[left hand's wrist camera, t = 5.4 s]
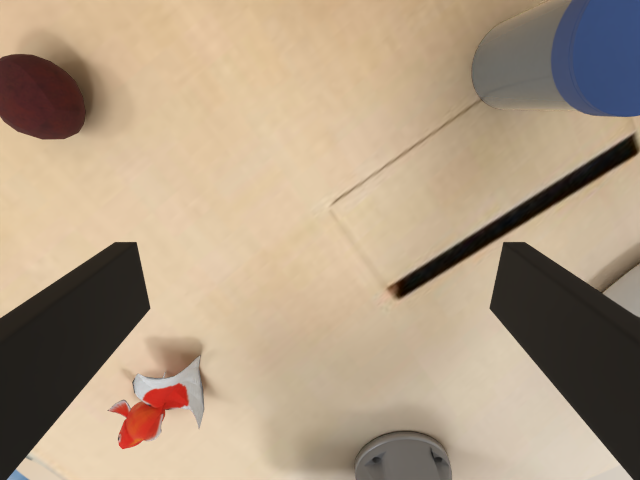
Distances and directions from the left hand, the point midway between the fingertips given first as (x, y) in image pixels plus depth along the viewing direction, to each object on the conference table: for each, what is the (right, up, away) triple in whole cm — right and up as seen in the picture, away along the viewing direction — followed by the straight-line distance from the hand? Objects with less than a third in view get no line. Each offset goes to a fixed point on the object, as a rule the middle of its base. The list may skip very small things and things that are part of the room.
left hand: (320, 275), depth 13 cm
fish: (-22, -19, +37) cm, 47 cm away
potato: (-27, +16, +24) cm, 39 cm away
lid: (+20, +14, +8) cm, 25 cm away
